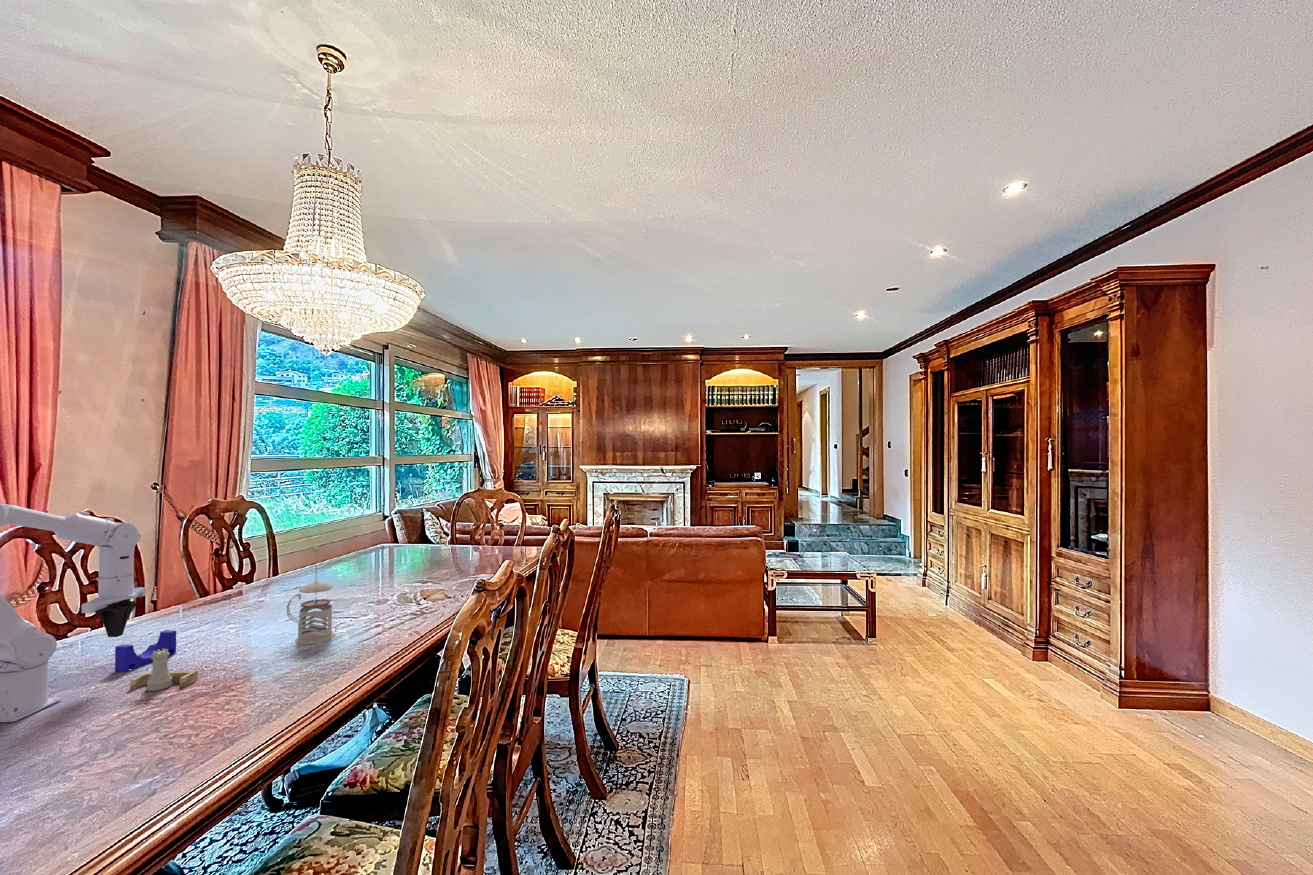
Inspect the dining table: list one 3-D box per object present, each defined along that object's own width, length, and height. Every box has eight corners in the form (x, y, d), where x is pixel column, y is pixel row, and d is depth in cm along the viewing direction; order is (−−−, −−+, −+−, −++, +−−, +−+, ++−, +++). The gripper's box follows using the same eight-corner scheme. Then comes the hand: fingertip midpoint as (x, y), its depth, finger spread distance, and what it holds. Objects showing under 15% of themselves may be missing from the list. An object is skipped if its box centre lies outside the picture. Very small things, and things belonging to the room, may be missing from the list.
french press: (332, 641, 152) (333, 548, 152) (282, 646, 148) (283, 551, 148) (338, 630, 161) (339, 543, 162) (291, 635, 157) (292, 545, 157)
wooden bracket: (184, 686, 123) (184, 677, 123) (130, 689, 122) (130, 679, 122) (197, 679, 127) (197, 670, 127) (145, 681, 126) (145, 672, 126)
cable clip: (160, 653, 144) (160, 629, 144) (175, 654, 143) (176, 630, 143) (109, 671, 132) (109, 646, 132) (126, 672, 131) (126, 647, 131)
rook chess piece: (172, 681, 126) (172, 645, 126) (174, 687, 123) (174, 650, 123) (145, 687, 123) (145, 650, 123) (146, 693, 120) (147, 656, 120)
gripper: (107, 582, 120) (106, 646, 120) (160, 568, 135) (159, 625, 134) (71, 583, 120) (70, 647, 119) (128, 569, 134) (127, 626, 134)
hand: (115, 635), depth 127 cm, fingers closed
